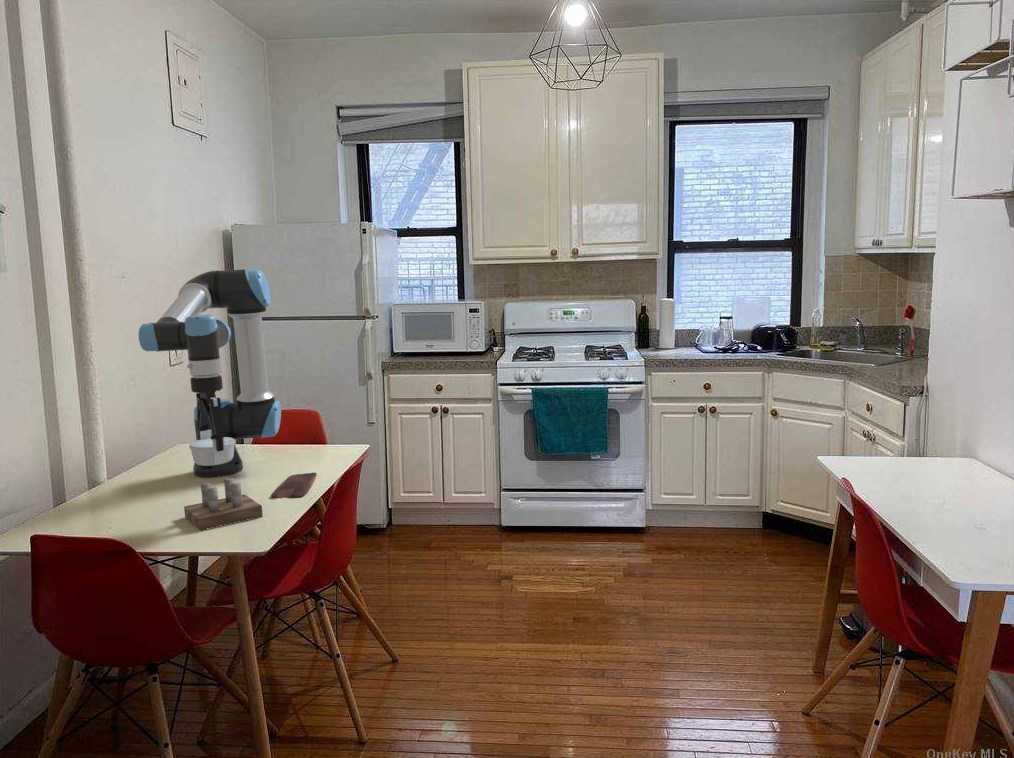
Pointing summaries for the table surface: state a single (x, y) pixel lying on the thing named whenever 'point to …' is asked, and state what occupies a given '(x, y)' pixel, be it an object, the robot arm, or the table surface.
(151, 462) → the table surface
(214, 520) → the peg stand
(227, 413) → the robot arm
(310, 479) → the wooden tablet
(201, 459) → the ramekin
